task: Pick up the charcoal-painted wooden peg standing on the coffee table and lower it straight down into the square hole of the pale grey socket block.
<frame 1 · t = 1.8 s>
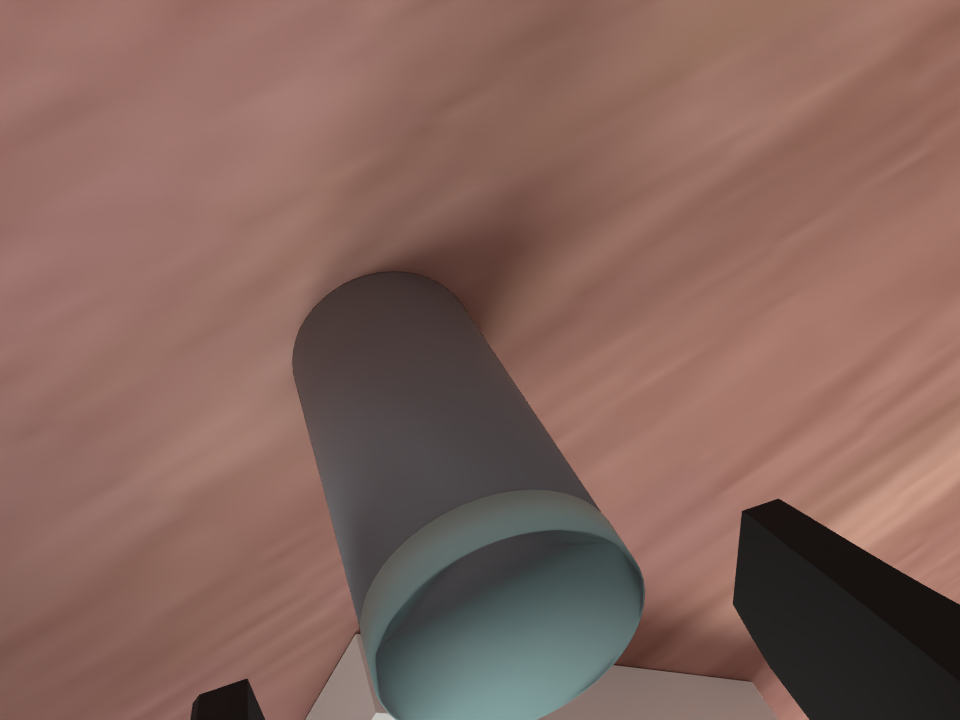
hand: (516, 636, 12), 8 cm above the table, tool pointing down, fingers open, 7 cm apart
peg: (385, 355, 18), on the table
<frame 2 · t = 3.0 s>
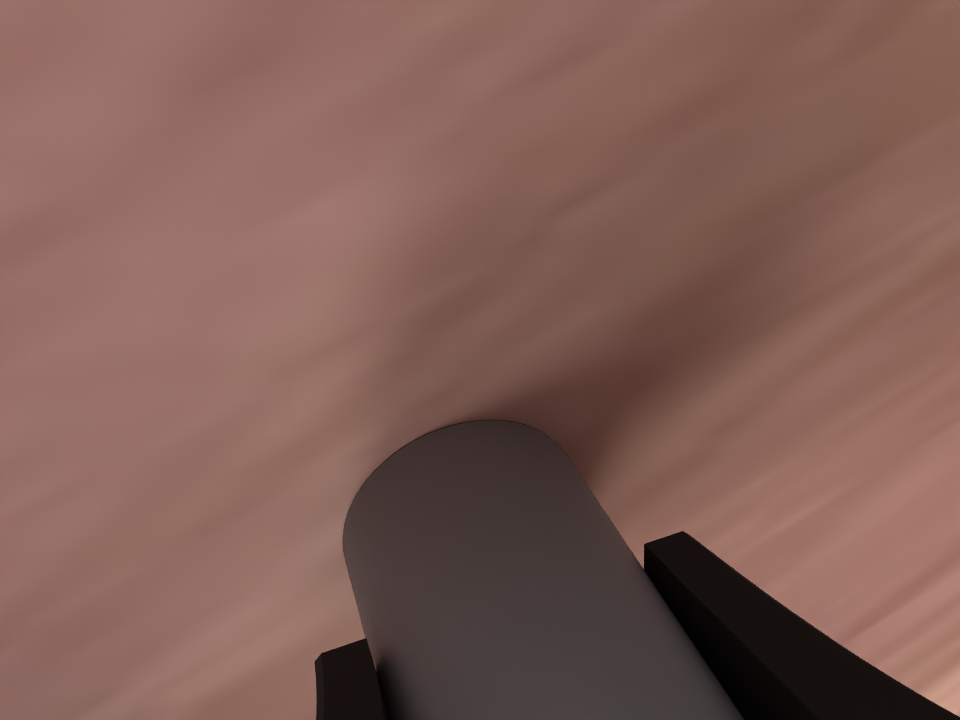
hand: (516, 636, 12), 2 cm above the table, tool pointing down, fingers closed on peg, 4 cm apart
peg: (464, 521, 13), on the table, touching gripper
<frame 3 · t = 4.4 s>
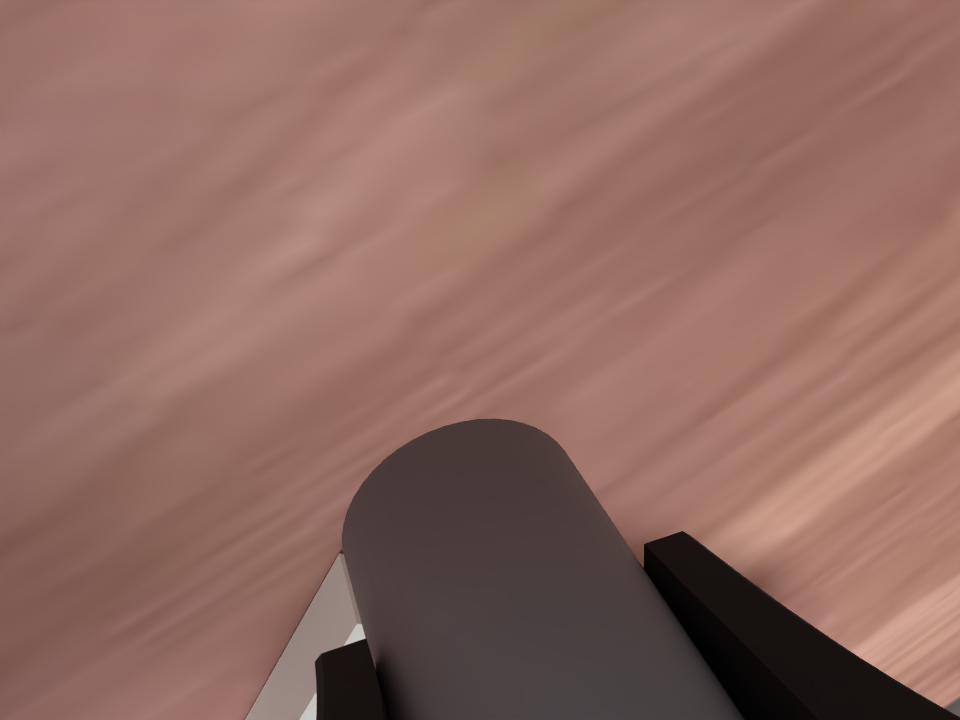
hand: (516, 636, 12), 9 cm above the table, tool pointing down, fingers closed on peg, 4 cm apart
peg: (464, 520, 13), point 7 cm above the table, touching gripper
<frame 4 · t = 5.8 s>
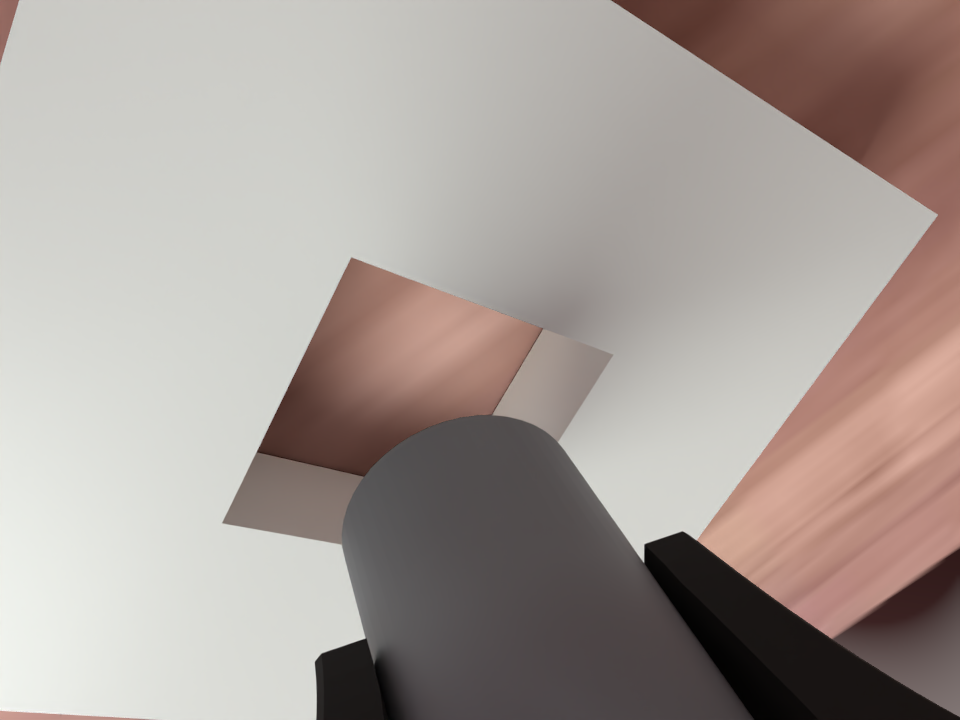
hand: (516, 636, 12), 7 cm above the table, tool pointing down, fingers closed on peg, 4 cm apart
socket block: (392, 368, 17), on the table
peg: (463, 519, 14), point 5 cm above the table, touching gripper
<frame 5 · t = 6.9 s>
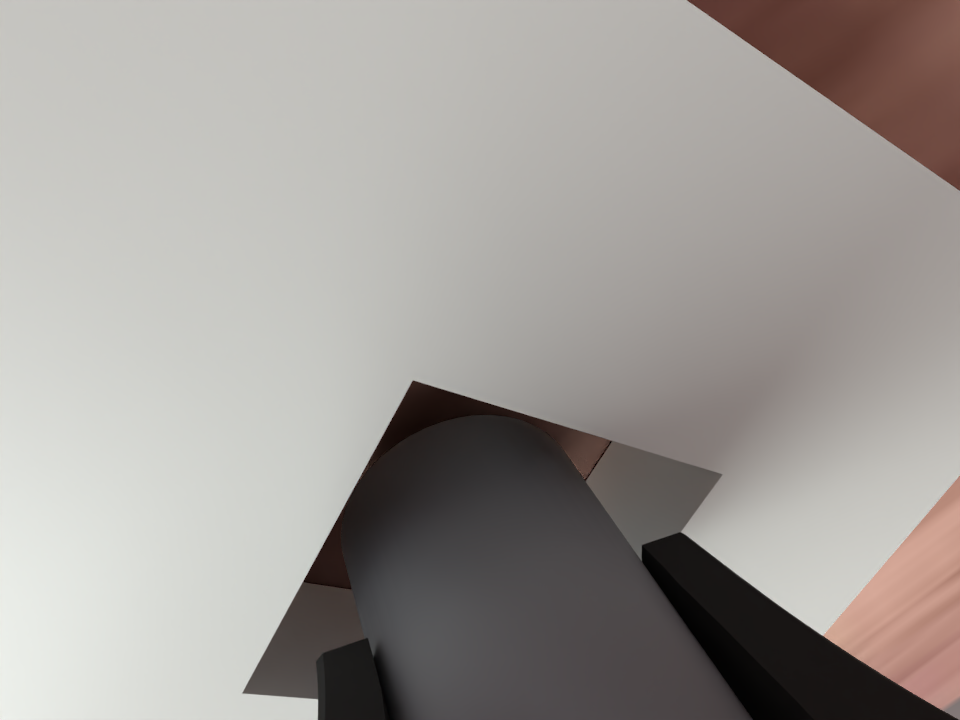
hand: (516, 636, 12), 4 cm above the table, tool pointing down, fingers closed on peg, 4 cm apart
socket block: (444, 477, 14), on the table
peg: (462, 519, 14), point 1 cm above the table, touching gripper
when the fingers open (4 cm above the table, at t = 7.0 s): peg drops 1 cm, resting in socket block.
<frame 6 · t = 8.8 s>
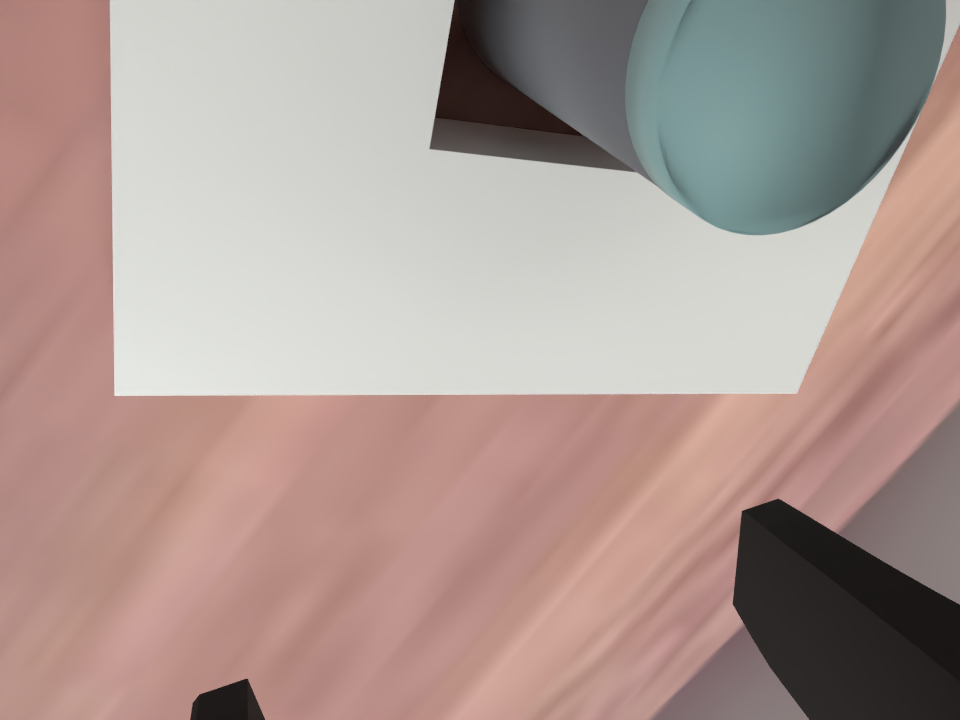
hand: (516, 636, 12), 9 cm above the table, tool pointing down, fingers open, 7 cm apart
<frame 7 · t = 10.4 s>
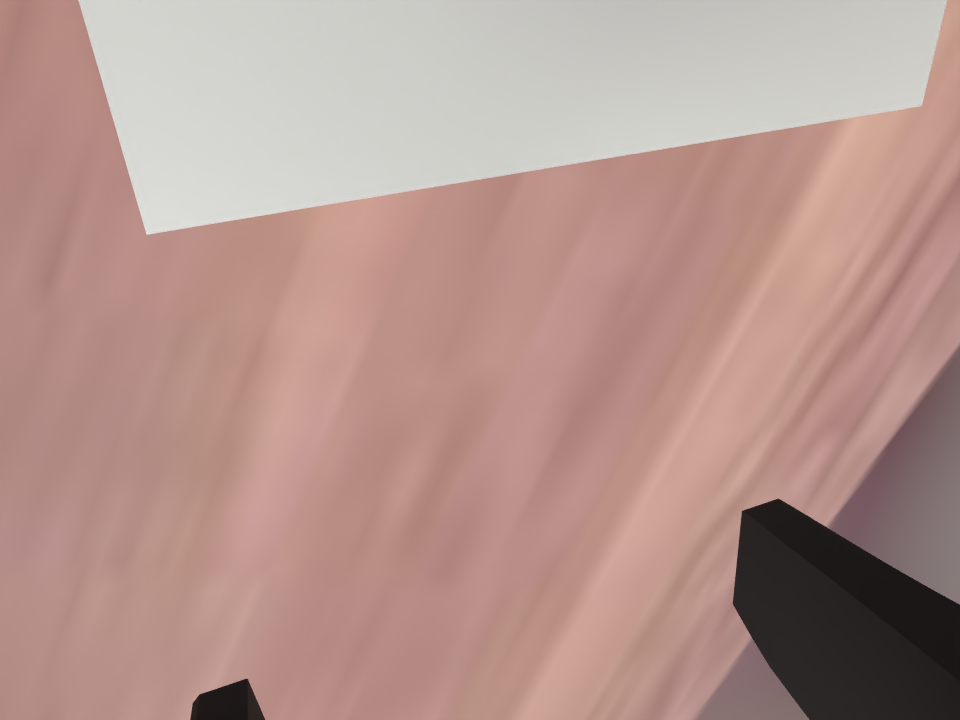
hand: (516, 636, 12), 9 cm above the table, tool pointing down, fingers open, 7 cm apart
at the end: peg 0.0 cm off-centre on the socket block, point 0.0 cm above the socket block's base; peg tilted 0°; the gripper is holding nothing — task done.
